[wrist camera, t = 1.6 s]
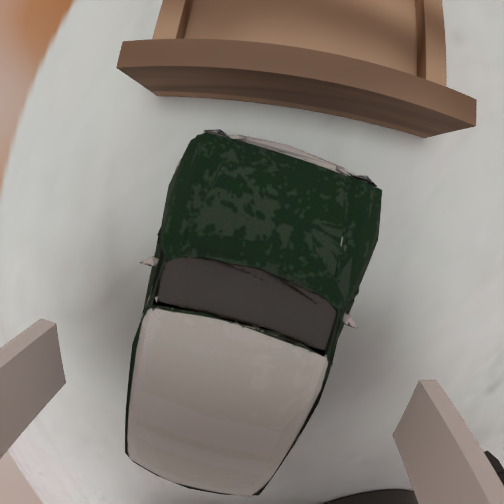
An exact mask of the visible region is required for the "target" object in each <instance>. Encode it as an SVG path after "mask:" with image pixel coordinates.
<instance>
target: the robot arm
mask: <svg viewBox="0 0 504 504" xmlns="http://www.w3.org/2000/svg"><path fill="white" fill-rule="evenodd" d="M65 383H66V380H65V375H64V370H63V365H62V359H61V353H60V347H59V341H58V334H57V326H56V323H53V322H50V321H47V320H44V319H40V320H38V321H37V322H36V323H34V324H33V325H31V326H30V327H29V328H27V329H26V330H24V331H23V332H22V333H20V334H19V335H18V336H16V337H15V338H14V339H12V340H11V341H9V342H8V343H7V344H5V345H4V346H3V347H1V348H0V459H1V457H2V456H3V455H4V454H5V453H6V451H7V450H8V449H9V448H10V447H11V445H12V444H13V443H14V442H15V441H16V439H17V438H18V437H19V436H20V435H21V433H22V432H23V431H24V430H25V429H26V428H27V426H28V425H29V424H30V423H31V422H32V421H33V419H34V418H35V417H36V416H37V415H38V414H39V412H40V411H41V410H42V409H43V408H44V407H45V406H46V404H47V403H48V402H49V401H50V400H51V399H52V398H53V397H54V395H55V394H56V393H57V392H58V391H59V390H60V389H61V388H62V386H63V385H64V384H65ZM393 437H394V439H395V442H396V444H397V447H398V450H399V452H400V455H401V457H402V460H403V463H404V465H405V468H406V471H407V473H408V476H409V479H410V481H411V484H412V487H413V490H414V492H415V493H414V492H411V491H404V490H387V491H377V492H370V493H365V494H359V495H355V496H351V497H346V498H343V499H339V500H336V501H332V502H329V503H326V504H504V469H503V467H502V465H501V464H500V462H499V460H498V459H497V458H495V457H494V456H493V455H492V454H491V453H490V452H488V451H485V452H483V450H482V449H481V447H480V445H479V444H478V442H477V441H476V439H475V437H474V436H473V434H472V433H471V431H470V430H469V428H468V427H467V425H466V423H465V422H464V420H463V419H462V417H461V416H460V414H459V413H458V411H457V410H456V408H455V407H454V405H453V404H452V402H451V401H450V399H449V398H448V397H447V395H446V394H445V392H444V391H443V389H442V388H441V386H440V385H439V383H438V382H437V381H436V380H419V382H418V384H417V386H416V389H415V391H414V393H413V395H412V397H411V399H410V402H409V404H408V406H407V408H406V410H405V412H404V414H403V416H402V418H401V420H400V422H399V424H398V426H397V428H396V429H395V431H394V433H393Z"/></svg>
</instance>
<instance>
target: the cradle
mask: <svg viewBox="0 0 504 504" xmlns="http://www.w3.org/2000/svg"><path fill="white" fill-rule="evenodd" d="M116 68H117V69H119V70H120V71H122V72H123V73H125V74H126V75H128V76H129V77H131V78H132V79H134V80H135V81H137V82H138V83H140V84H141V85H143V86H144V87H145V88H147V89H148V90H150V91H151V92H153V93H154V94H155V95H157V96H180V97H200V98H215V99H227V100H238V101H247V102H256V103H264V104H272V105H279V106H286V107H293V108H299V109H305V110H311V111H316V112H322V113H327V114H332V115H337V116H342V117H347V118H351V119H356V120H360V121H364V122H369V123H373V124H377V125H381V126H385V127H389V128H392V129H396V130H400V131H403V132H407V133H410V134H414V135H417V136H420V137H424V138H427V137H431V136H435V135H439V134H443V133H448V132H452V131H456V130H461V129H465V128H470V127H474V126H476V99H474V98H472V97H469V96H467V95H465V94H462V93H460V92H457V91H455V90H453V89H450V88H448V87H446V45H445V29H444V17H443V7H442V0H163V3H162V6H161V9H160V13H159V16H158V20H157V24H156V27H155V31H154V35H153V39H152V40H136V41H124V42H123V43H122V47H121V51H120V55H119V59H118V63H117V67H116Z"/></svg>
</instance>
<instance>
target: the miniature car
mask: <svg viewBox="0 0 504 504" xmlns="http://www.w3.org/2000/svg"><path fill="white" fill-rule="evenodd" d="M204 132H205V133H203V134H201V135H197V136H196V138H194V139H192V140H191V141H190V143H189V145H188V147H187V149H186V151H185V153H184V155H183V157H182V159H181V160H180V161H179V163H178V165H177V168H176V171H175V173H174V175H173V178H172V180H171V182H170V184H169V187H168V192H167V197H166V203H165V208H164V214H163V219H162V225H161V228H160V230H159V232H158V241H157V247H156V252H155V256H154V257H150V258H148V259H146V260H144V261H142V262H140V263H141V264H145V265H148V266H152V270H151V275H150V280H149V284H148V289H147V294H146V300H145V305H144V310H143V313H142V317H141V322H140V324H139V327H138V330H137V333H136V336H135V338H134V341H133V345H132V354H131V362H130V371H129V381H128V392H127V404H126V421H125V453H126V454H127V455H128V457H129V458H130V459H131V460H132V461H133V462H134V463H136V464H138V465H139V466H141V467H143V468H144V469H146V470H148V471H150V472H152V473H153V474H155V475H157V476H159V477H162V478H164V479H166V480H169V481H171V482H174V483H176V484H179V485H181V486H184V487H186V488H190V489H195V490H200V491H206V492H212V493H218V494H226V495H241V496H251V495H259V494H260V493H261V492H262V491H263V489H264V488H265V487H266V485H267V484H268V483H269V481H270V480H271V478H272V477H273V476H274V474H275V473H276V471H277V470H278V468H279V467H280V465H281V464H282V462H283V461H284V459H285V458H286V456H287V455H288V453H289V452H290V450H291V449H292V447H293V446H294V444H295V443H296V441H297V439H298V438H299V436H300V434H301V433H302V431H303V429H304V428H305V426H306V424H307V422H308V421H309V419H310V417H311V415H312V414H313V412H314V410H315V408H316V406H317V405H318V403H319V400H320V397H321V395H322V392H323V389H324V386H325V384H326V381H327V378H328V375H329V372H330V369H331V366H332V362H333V357H334V353H335V349H336V344H337V340H338V337H339V335H340V333H341V331H342V328H343V326H344V324H346V325H348V326H351V327H354V328H357V326H356V324H355V322H354V321H353V319H352V317H351V316H350V315H348V314H349V312H350V310H351V307H352V305H353V303H354V299H355V296H356V295H357V294H358V293H359V285H360V283H361V281H362V278H363V276H364V274H365V271H366V269H367V266H368V264H369V261H370V259H371V256H372V254H373V251H374V249H375V246H376V243H377V241H378V235H379V224H380V212H381V197H382V190H381V189H379V188H376V187H377V186H376V185H375V184H374V183H373V182H372V181H371V180H370V179H369V178H368V177H367V176H356V175H355V174H353V173H351V172H350V171H348V170H346V169H345V168H343V167H340V166H338V165H335V164H333V163H331V162H328V161H326V160H323V159H321V158H318V157H316V156H313V155H311V154H308V153H306V152H303V151H301V150H298V149H295V148H293V147H290V146H287V145H284V144H279V143H275V142H270V141H266V140H261V139H256V138H251V137H246V136H242V135H227V134H226V133H224V132H223V131H222V130H204Z"/></svg>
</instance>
